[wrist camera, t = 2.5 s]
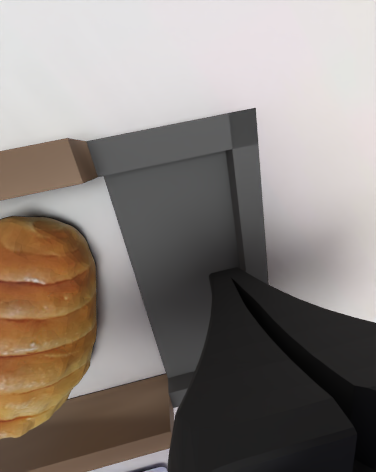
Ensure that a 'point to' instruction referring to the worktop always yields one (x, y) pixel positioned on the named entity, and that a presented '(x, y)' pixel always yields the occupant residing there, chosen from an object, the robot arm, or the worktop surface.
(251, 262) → the tray
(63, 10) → the worktop surface
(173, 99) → the worktop surface
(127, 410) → the corridor
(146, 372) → the worktop surface
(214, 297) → the robot arm
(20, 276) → the pastry
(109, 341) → the worktop surface
